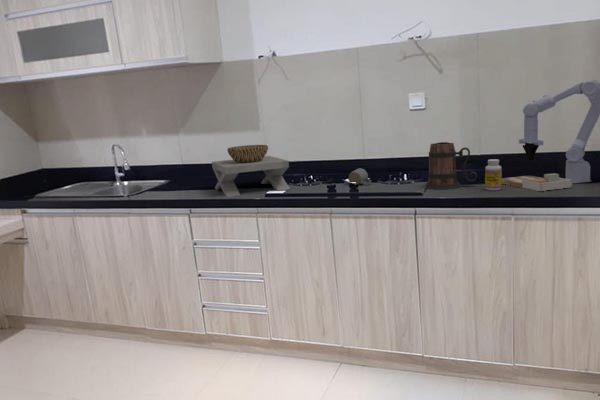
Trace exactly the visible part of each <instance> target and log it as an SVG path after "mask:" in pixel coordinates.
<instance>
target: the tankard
mask: <svg viewBox="0 0 600 400" xmlns="http://www.w3.org/2000/svg"><path fill="white" fill-rule="evenodd" d="M464 150H466V151H467V156H466V158H465V159H464V157H465V156H463V151H464ZM457 155H458V156H459V157H460V158H461V159H464V163H463V166H462V167H463V170H462V171H463V175H464V178H465V179H466V180H467V181H468V182H474V181H476V180H477V179H478V173H477V172H476V171H471V172H470V174H469V175H470V176H468V175H467V171H466V164H467V162H468V160H469V158H470V155H471V151H470V149H469V148H468V147H465V146H464V147H462V148H461V149H460V150H459V151H456V149H455V144H454V142H448V141H447V142H446V141H444V142H443V141H441V142H435V143H430V145H429V152H428V175H427V177H428V181H427V182H426V183H425V185H424V187H425V186H426V188H428V189H427V190H431V189H433V191H449V190H448V189H451V190H457V189H460V188H462V185H461V184H460V182H459V181H458V172H457V161H456V160H457V158H456V157H457ZM472 175H473V176H472ZM469 177H471V178H469ZM426 188H425V189H426Z"/></svg>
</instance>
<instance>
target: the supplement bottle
mask: <svg viewBox="0 0 600 400" xmlns="http://www.w3.org/2000/svg"><path fill="white" fill-rule="evenodd" d="M499 163H500V159H495V158H494V159H488V160H487V165H486V166H485V169H484V170H485V172H484V176H485V177H484V185H485V186H484V188H485V190H487V191H499V190H501V189H502V185H503V184H502V178H503V177H502V175H503V174H502V173H503V171H502V169H503V167H502V166H501V165H500V164H499Z"/></svg>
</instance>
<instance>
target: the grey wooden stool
mask: <svg viewBox="0 0 600 400" xmlns="http://www.w3.org/2000/svg"><path fill="white" fill-rule="evenodd" d="M268 150H269V147H268V145H267V144H250V145H249V144H248V145H237V146H231V147H228V148H227V153H228V155H229V156H230V157H231V159H226V160H216V161H211V166H212V170H213V172H214V174H215V176H216V179H217V182H216V185H215V187H214V189H215V190H217V191H219V190H222V193H223V195H224V196H226V197H227V198H228V197H229V198H230V197H237V196H241V194H240V191H239V190H238V187H237V185H236V183H235V182H234V181H235V179H236V178H237V176H238V175H239V174H240V173H249V172H258V171H263V172H264V174H265V176H264V177H263V179H262V180H261V182H260V184H263V185H268V184H270V185H271V186H272V188H273V189H274V190H276V191H285V190H291V188H290V186H289V185H288V183H287V182H286V180H285V179H284V176H283V175H284V174H285V172H286V171H287V170H288V169H289V168H290V164H289V163H290V161H289V160H287V159H283V158H279V157H275V156H272V155H267V153H268Z"/></svg>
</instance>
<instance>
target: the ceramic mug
mask: <svg viewBox="0 0 600 400" xmlns="http://www.w3.org/2000/svg"><path fill="white" fill-rule="evenodd" d="M348 181H349V183H350V182H356V183H358V185H357V186H360V185H361V184H362V185H365V186H370V185H371V183H372V180H371V179H370V178H369V174H368V172H367V170H366V169H364V168H360V167H359V168H357V169H356V168H355V170H353V171H351V172H349V174H348Z"/></svg>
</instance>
